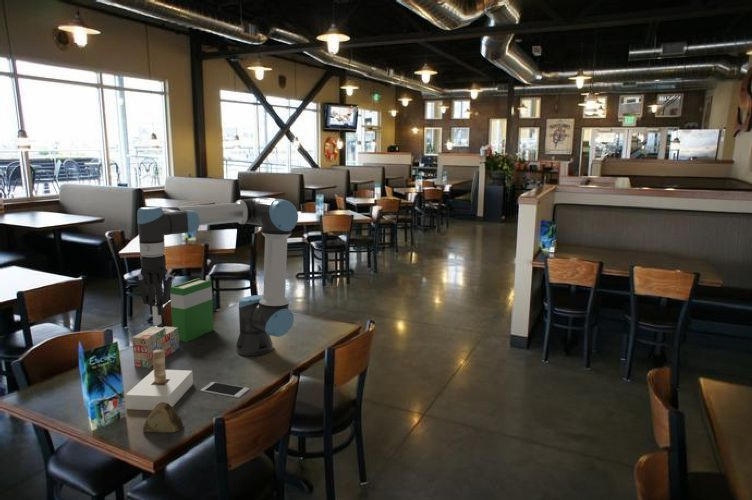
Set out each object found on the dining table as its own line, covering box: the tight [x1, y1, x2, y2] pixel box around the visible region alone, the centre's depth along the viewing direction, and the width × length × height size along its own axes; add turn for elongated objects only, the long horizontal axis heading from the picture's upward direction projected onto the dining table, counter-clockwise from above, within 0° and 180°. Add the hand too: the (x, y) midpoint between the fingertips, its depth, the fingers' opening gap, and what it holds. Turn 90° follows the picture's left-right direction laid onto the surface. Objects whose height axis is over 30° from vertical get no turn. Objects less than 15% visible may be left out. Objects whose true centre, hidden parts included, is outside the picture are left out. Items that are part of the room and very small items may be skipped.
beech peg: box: [153, 350, 166, 385], centre depth 178 cm, size 4×4×16 cm
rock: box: [142, 402, 185, 433], centre depth 158 cm, size 11×9×10 cm
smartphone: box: [200, 381, 250, 399], centre depth 185 cm, size 7×16×1 cm, turn 72°
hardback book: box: [169, 277, 214, 343], centre depth 236 cm, size 18×7×24 cm, turn 156°
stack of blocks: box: [132, 326, 180, 369], centre depth 211 cm, size 21×6×12 cm, turn 169°
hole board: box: [125, 369, 194, 411], centre depth 179 cm, size 14×20×5 cm
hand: (157, 324), depth 175 cm, fingers closed
